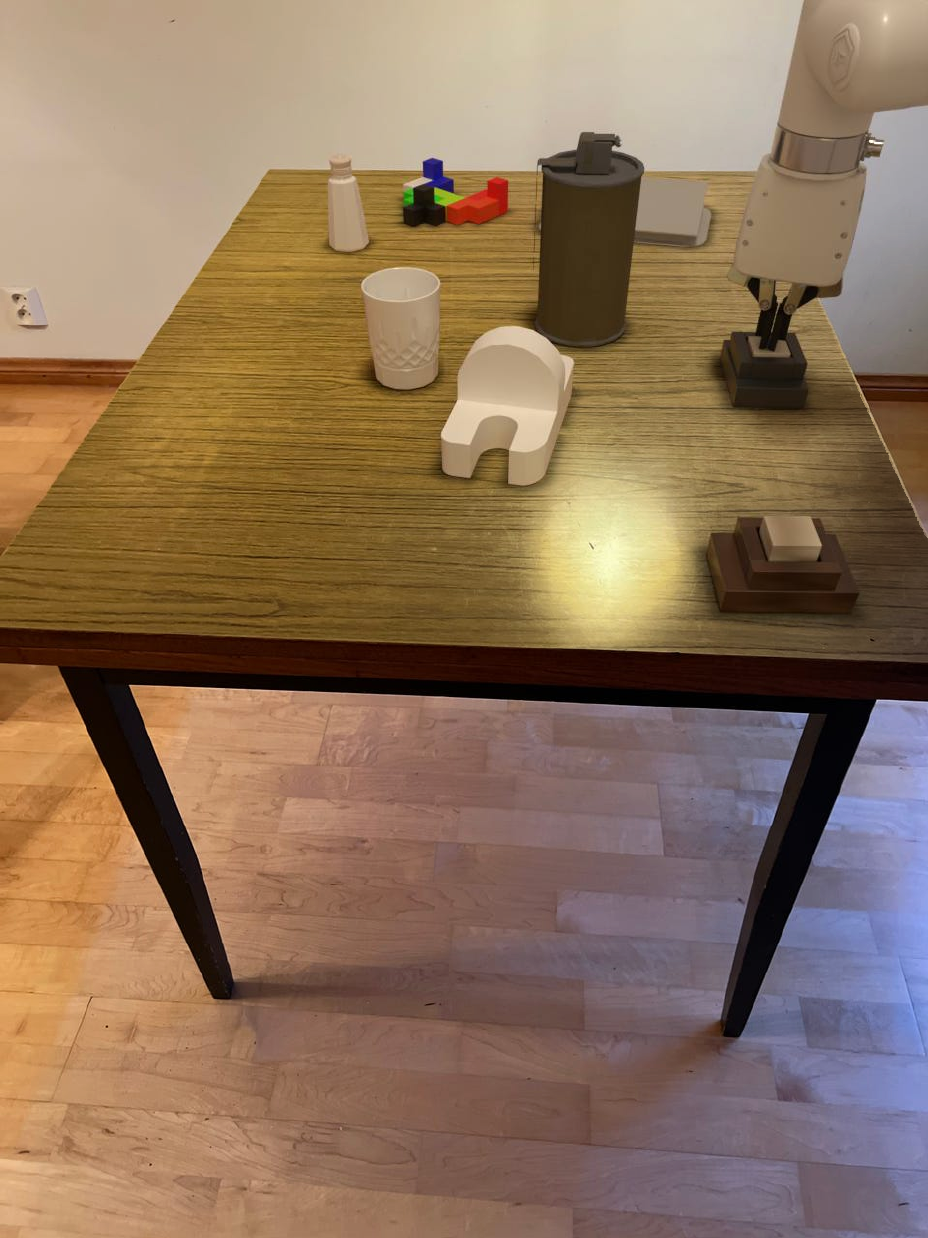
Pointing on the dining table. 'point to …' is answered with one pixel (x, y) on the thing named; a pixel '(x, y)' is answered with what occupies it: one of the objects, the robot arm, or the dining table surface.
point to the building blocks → (450, 199)
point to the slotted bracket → (508, 404)
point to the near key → (790, 538)
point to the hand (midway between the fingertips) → (768, 343)
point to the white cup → (403, 325)
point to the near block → (778, 574)
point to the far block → (764, 374)
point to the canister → (586, 241)
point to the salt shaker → (345, 208)
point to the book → (671, 212)
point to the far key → (756, 352)
